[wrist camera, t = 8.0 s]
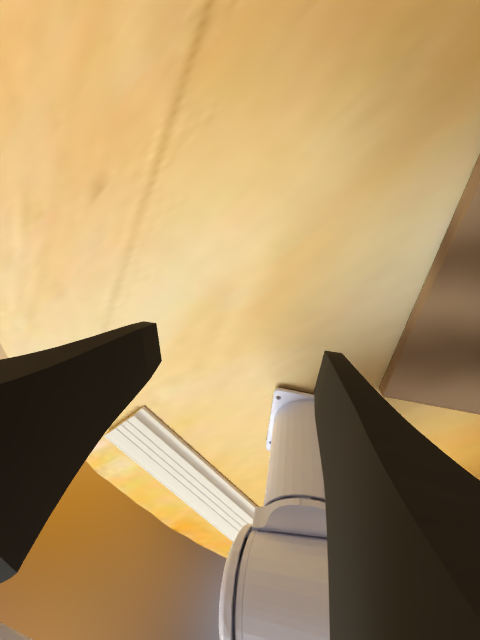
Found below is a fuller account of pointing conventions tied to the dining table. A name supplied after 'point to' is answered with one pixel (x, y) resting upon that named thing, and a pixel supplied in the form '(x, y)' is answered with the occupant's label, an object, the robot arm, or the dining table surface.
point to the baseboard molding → (182, 471)
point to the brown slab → (445, 321)
